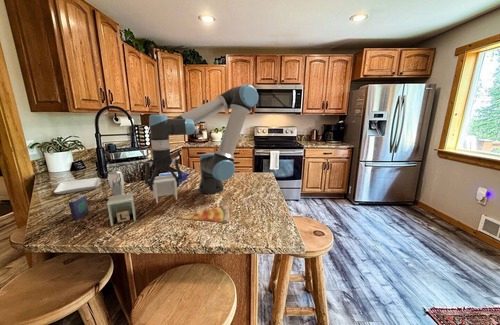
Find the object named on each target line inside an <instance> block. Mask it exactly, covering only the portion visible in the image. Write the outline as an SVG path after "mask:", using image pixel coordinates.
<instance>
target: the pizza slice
mask: <svg viewBox="0 0 500 325" xmlns="http://www.w3.org/2000/svg"><path fill="white" fill-rule="evenodd" d="M230 214H231V213H230V210H229V208H228V207H227V206H226V205H225V204H223V203H222V204H220V205H219V206H218V207H214V208H211V209H210V208H209V209H207V210H204V211H200V212H197V213H194V214H190V215H187V216H183V217H180V218H179V219H180V220H187V221H199V222H211V223H225V224H228V223H229V222H230V219H231V218H230Z"/></svg>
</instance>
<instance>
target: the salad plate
mask: <svg viewBox="0 0 500 325" xmlns="http://www.w3.org/2000/svg"><path fill="white" fill-rule="evenodd" d="M99 183H100V177H93V178H92V177H91V178H84V179H83V178H82V179H75V180H69V181H63V182H60V183H58V186H57V187H56V188H55V190H53V193H54V194H56V195H65V194H66V193H67V194H72V193H77V192H78V193H79V192H85V191H91V190H94V189H97V188H98V187H99V185H100V184H99Z"/></svg>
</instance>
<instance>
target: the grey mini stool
mask: <svg viewBox="0 0 500 325" xmlns="http://www.w3.org/2000/svg"><path fill="white" fill-rule="evenodd" d="M153 183H154V186H155V196H156V198H154V199H155V202H156V204H158V203H159V198H158V197H163V196H170V195H173V196H174V198H175V201H176V200H178V188H177V189H176V179H175V178H174V176H173V175H172V174H168V175H160V176H156V177H155V179H154V181H153Z"/></svg>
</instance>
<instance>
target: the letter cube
mask: <svg viewBox="0 0 500 325" xmlns="http://www.w3.org/2000/svg"><path fill="white" fill-rule="evenodd" d="M116 214H117V217H116V220H117V223H123V222H127V221H130V220H131V214H130V212H129V207H126V208H121V209H117V212H116Z"/></svg>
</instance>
